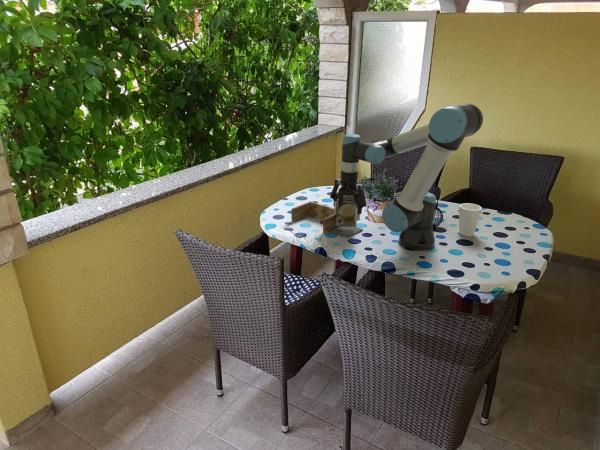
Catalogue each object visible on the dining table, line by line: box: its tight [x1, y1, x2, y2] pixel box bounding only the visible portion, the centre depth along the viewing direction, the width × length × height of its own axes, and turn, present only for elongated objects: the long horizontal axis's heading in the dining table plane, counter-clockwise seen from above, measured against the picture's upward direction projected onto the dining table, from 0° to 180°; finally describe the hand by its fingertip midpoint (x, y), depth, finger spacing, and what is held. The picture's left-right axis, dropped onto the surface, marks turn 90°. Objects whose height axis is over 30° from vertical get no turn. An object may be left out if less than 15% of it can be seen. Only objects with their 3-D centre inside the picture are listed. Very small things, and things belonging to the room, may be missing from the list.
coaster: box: [329, 226, 364, 239], centre depth 208 cm, size 10×12×1 cm
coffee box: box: [336, 187, 359, 227], centre depth 204 cm, size 9×6×16 cm
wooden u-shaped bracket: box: [290, 200, 339, 234], centre depth 216 cm, size 20×14×7 cm
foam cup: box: [458, 202, 483, 237], centre depth 205 cm, size 10×9×13 cm
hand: (346, 217), depth 206 cm, fingers closed on coffee box, 11 cm apart
